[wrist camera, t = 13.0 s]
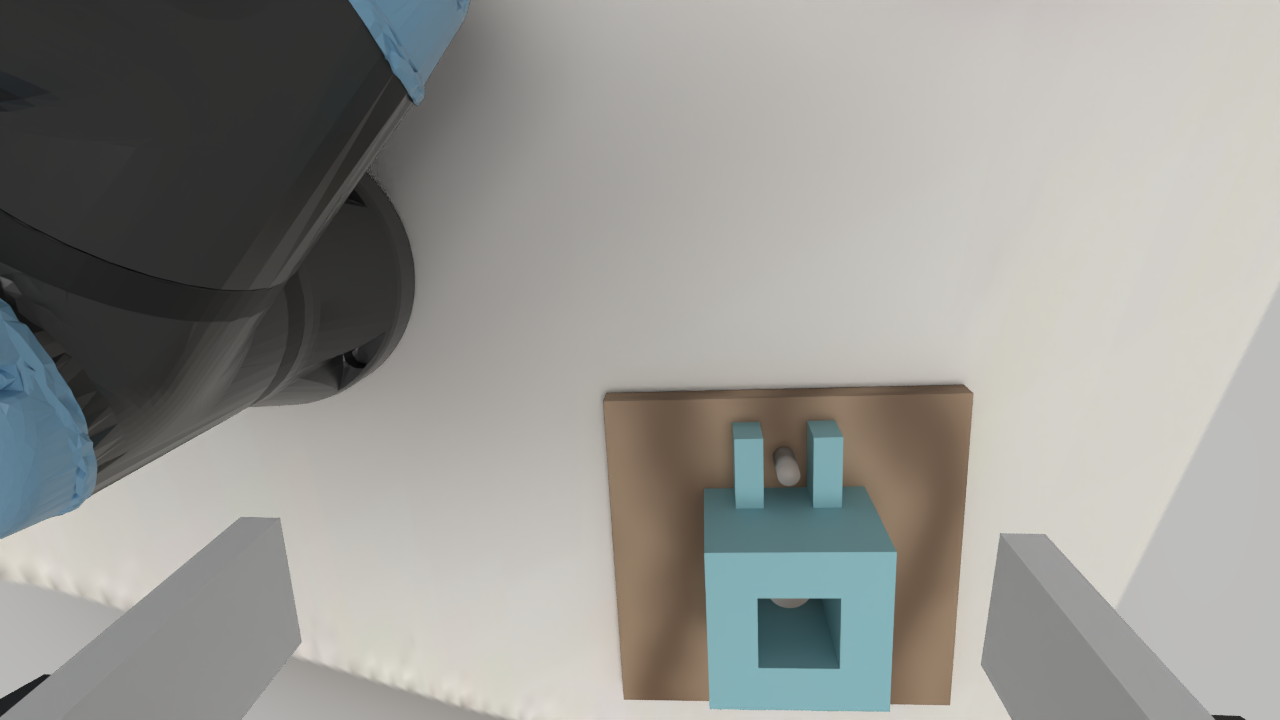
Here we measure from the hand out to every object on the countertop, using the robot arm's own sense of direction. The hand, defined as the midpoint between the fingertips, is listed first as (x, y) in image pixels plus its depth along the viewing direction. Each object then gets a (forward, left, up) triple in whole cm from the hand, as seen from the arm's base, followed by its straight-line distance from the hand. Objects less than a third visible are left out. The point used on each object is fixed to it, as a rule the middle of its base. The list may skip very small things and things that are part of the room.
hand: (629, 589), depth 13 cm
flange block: (+6, -15, -26) cm, 31 cm away
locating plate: (+6, -15, -28) cm, 32 cm away
